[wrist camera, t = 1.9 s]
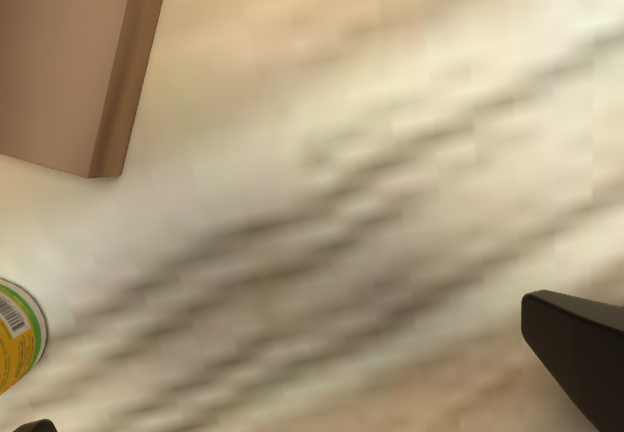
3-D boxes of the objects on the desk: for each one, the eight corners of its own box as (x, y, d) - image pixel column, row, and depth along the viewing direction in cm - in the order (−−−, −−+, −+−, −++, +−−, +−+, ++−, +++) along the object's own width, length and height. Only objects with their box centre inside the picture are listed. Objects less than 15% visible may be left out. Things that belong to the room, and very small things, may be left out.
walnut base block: (168, -25, 17) (141, -63, 14) (120, 175, 18) (87, 178, 15) (-46, -96, 17) (-120, -151, 14) (-81, 117, 18) (-158, 108, 15)
